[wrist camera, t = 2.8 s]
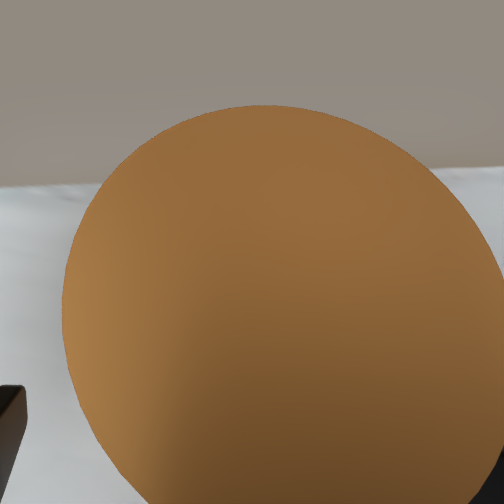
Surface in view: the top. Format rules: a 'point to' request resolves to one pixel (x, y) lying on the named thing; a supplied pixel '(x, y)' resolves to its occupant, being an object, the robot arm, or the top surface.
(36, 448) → the top surface
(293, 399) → the orange round cylinder
